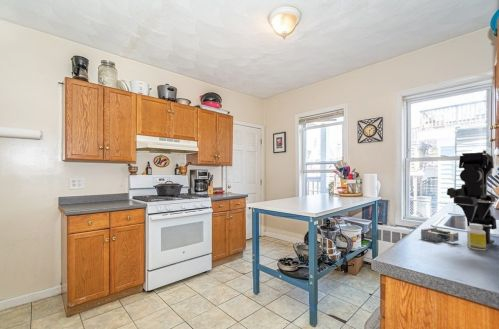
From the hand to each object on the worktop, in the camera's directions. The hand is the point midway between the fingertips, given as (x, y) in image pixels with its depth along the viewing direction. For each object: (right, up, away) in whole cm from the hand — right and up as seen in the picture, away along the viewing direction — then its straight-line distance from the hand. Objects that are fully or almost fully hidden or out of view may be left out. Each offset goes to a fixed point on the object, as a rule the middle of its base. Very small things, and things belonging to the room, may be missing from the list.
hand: (475, 220), depth 94 cm
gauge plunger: (-4, -11, +10) cm, 15 cm away
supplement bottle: (0, -12, 0) cm, 12 cm away
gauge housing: (-6, -12, +13) cm, 19 cm away
